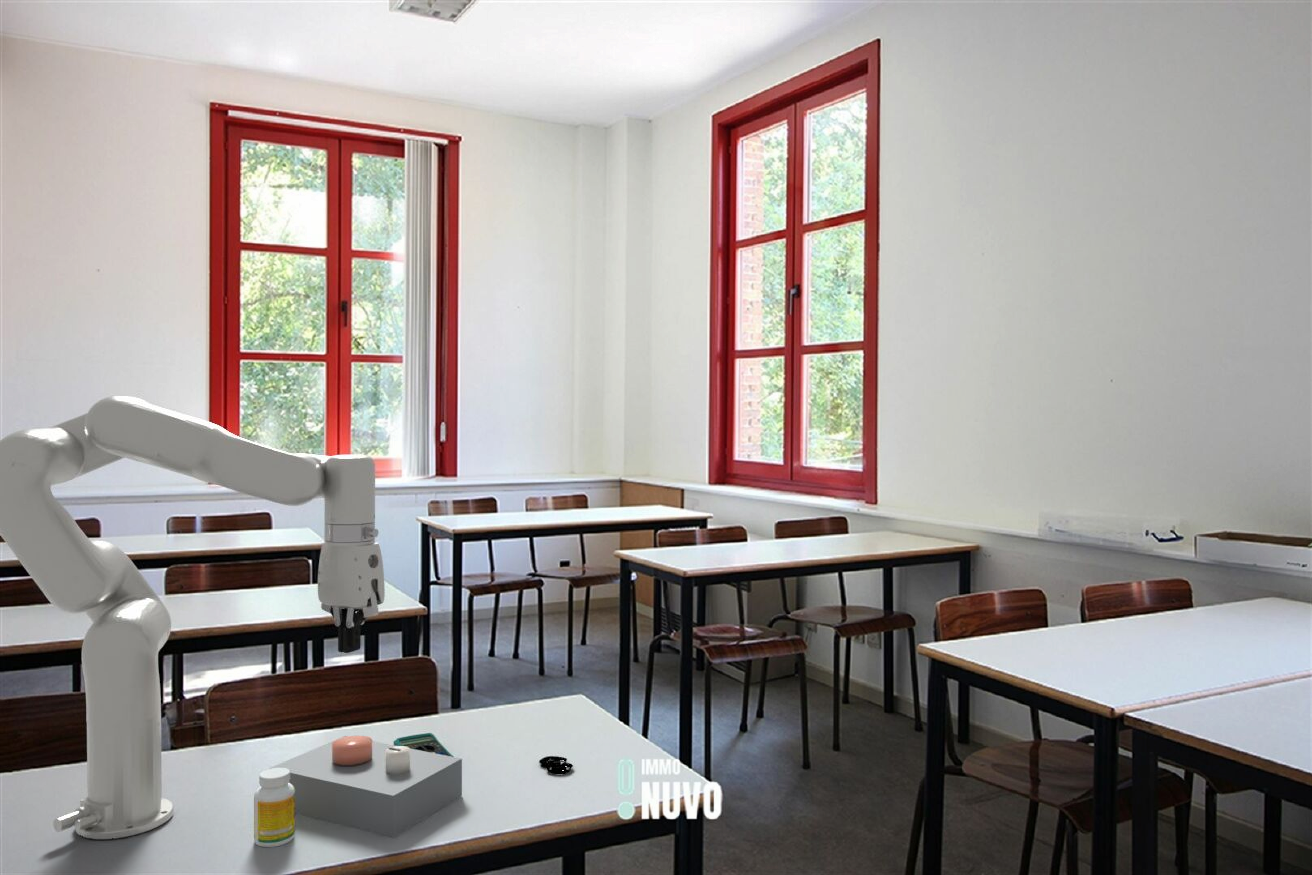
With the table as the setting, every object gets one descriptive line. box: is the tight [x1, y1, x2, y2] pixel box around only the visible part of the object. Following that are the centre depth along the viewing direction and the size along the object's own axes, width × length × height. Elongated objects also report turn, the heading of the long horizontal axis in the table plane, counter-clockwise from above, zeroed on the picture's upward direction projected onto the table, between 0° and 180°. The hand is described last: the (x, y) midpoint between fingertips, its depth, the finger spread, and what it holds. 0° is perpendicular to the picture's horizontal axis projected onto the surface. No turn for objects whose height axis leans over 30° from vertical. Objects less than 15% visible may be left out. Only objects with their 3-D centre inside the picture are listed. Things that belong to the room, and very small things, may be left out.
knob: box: [386, 746, 410, 774], centre depth 144 cm, size 4×4×3 cm
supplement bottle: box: [253, 768, 296, 848], centre depth 133 cm, size 5×5×10 cm
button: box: [332, 735, 373, 765], centre depth 148 cm, size 6×6×5 cm
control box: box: [269, 735, 463, 838], centre depth 147 cm, size 16×24×6 cm, turn 65°
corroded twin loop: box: [538, 755, 574, 775], centre depth 161 cm, size 5×8×1 cm, turn 25°
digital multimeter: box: [393, 732, 455, 757], centre depth 164 cm, size 7×15×3 cm, turn 29°
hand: (349, 650), depth 148 cm, fingers closed
